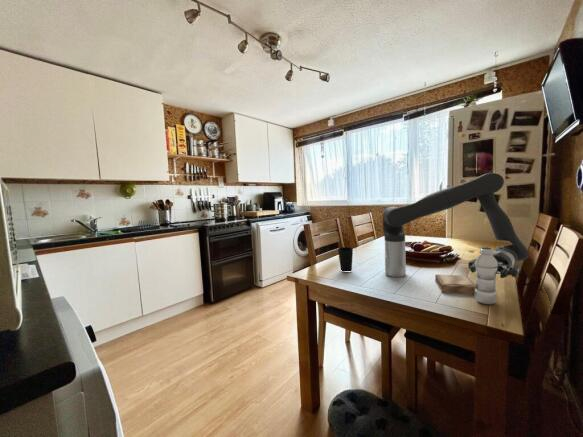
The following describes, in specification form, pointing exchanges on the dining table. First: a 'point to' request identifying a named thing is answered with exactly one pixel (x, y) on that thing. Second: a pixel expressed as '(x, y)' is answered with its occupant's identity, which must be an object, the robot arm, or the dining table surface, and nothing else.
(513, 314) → the dining table surface
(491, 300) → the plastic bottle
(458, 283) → the plinth
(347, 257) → the cup
